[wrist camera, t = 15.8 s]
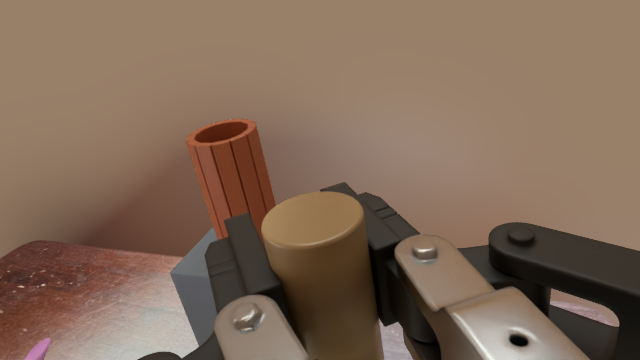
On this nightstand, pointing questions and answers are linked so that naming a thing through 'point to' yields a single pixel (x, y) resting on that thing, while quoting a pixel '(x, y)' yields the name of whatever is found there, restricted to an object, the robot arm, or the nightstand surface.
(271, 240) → the stick
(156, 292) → the nightstand surface
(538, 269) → the robot arm
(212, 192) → the holder
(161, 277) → the nightstand surface
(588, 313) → the nightstand surface
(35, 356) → the teapot
